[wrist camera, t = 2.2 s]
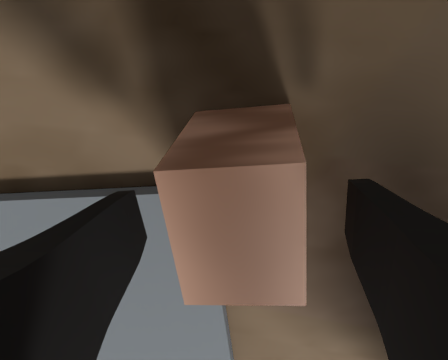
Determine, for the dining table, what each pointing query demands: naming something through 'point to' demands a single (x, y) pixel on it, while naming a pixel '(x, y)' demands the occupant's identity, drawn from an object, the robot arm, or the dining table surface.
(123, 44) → the dining table surface
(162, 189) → the block
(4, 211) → the mat
